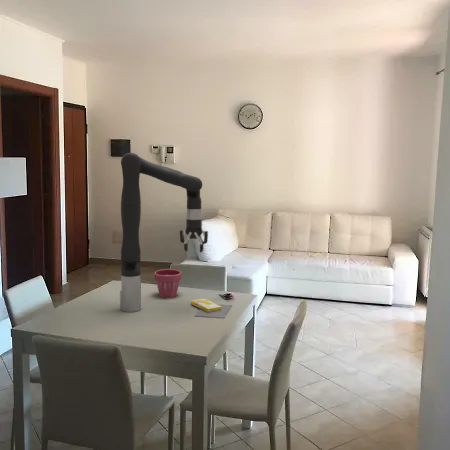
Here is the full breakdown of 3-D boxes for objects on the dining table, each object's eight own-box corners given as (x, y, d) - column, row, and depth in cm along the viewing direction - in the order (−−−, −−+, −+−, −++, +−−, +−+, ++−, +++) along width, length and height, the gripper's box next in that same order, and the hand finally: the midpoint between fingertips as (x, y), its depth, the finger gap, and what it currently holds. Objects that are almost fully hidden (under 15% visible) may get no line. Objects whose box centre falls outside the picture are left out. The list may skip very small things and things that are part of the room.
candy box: (207, 313, 240) (221, 310, 245) (207, 308, 240) (221, 305, 244) (190, 304, 253) (204, 301, 258) (190, 300, 253) (204, 297, 258)
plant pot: (175, 300, 261) (175, 276, 259) (150, 297, 265) (150, 274, 263) (185, 293, 274) (185, 270, 273) (161, 290, 278) (161, 268, 276)
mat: (194, 316, 236) (194, 315, 236) (204, 303, 256) (204, 303, 256) (224, 318, 234) (224, 317, 233) (231, 305, 253) (231, 305, 253)
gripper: (177, 218, 243) (177, 252, 245) (206, 219, 240) (206, 253, 243) (181, 216, 250) (181, 249, 253) (210, 217, 247) (209, 250, 250)
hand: (193, 251), depth 248 cm, fingers open, 6 cm apart
